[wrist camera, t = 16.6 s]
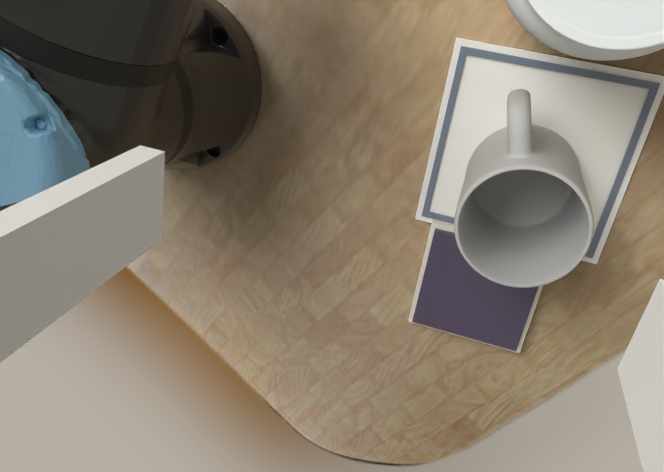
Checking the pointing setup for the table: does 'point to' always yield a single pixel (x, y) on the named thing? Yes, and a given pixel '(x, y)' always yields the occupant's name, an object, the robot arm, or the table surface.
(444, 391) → the table surface
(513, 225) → the mug
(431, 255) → the ink pad
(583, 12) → the supplement tub
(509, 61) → the print card
